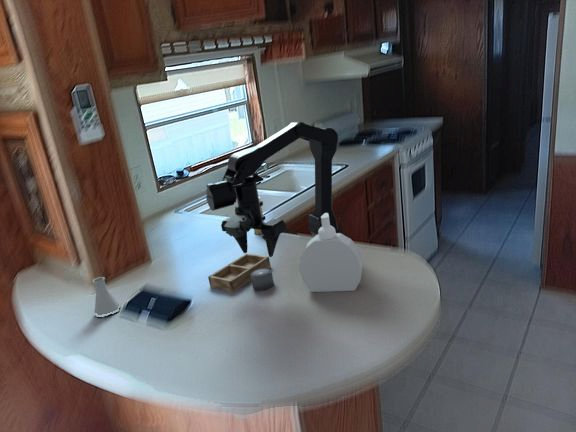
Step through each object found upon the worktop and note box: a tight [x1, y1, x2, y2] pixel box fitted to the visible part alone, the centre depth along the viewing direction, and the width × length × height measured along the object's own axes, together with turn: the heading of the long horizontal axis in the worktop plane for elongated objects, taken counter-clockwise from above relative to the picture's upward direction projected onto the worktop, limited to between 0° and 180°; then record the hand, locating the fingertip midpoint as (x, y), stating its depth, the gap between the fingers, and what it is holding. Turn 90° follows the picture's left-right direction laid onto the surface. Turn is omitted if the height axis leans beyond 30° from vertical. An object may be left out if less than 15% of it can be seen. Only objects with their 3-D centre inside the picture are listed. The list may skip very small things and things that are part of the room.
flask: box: [91, 276, 120, 315], centre depth 129 cm, size 7×7×10 cm
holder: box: [207, 253, 271, 293], centre depth 139 cm, size 9×17×3 cm, turn 145°
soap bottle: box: [299, 213, 364, 293], centre depth 122 cm, size 16×5×20 cm, turn 78°
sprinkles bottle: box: [253, 196, 265, 235], centre depth 173 cm, size 5×5×13 cm
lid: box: [250, 268, 275, 292], centre depth 131 cm, size 6×6×4 cm
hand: (258, 254), depth 129 cm, fingers open, 9 cm apart
